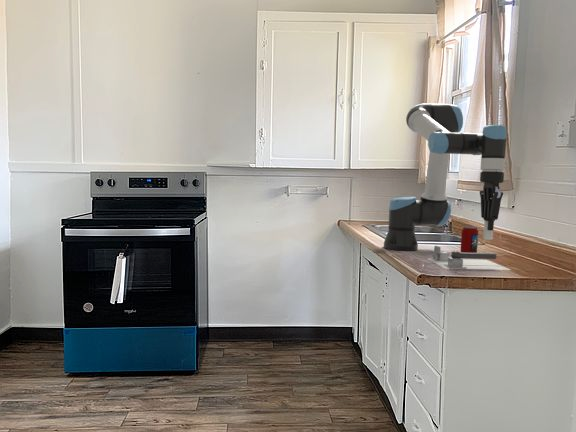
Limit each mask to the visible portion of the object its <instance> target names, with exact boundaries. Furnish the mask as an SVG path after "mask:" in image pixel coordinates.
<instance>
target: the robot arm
mask: <svg viewBox="0 0 576 432" xmlns="http://www.w3.org/2000/svg"><path fill="white" fill-rule="evenodd" d="M405 121H406V126H407V127H408V129H410V131H412V132H413V133H417V134H418V135H420V136H422V137H423V138H424V139H425V140H426V141H427V146H428V150H429V155H428V163H427V171H426V172H427V173H426V176H425V177H426V179H425V186H424V192H423V193H422V194H421V195H420V199H417V197H416V196H401V197H400V196H399V197H394V198H392V199H390V202H389V206H388V207H389V208H388V211H389V212H388V231H387V234H386V235H385V238H384V242H383V248H384V249H388V250H393V251H403V252H405V251H407V252H408V251H417V250H418V249H419V248H418V246H419V245H418V243H419V242H418V240H417V237H416V233H415V231H416V230H415V228H416V226H417V227H419V226H420V227H421V226H422V227H424V226H425V227H426V226H427V227H440V226H441V227H443V226H445V225H446V224H447V223H448V222H449V220H450V217H451V215H452V214H451V213H452V205H451V203H450V201H449V200H448V196H446V193H445V192H446V185H447V177H448V169H449V161H450V156H451V154H453V155H471V156H472V155H473V156H481V157H480V170H481V172H480V176H479V182H480V183H483V187H482V190H479V197H480V216H481V217H480V218H481V219H483V221H484V223H483V225H484V226H483V238H482V239H483V240H485V241H486V240H487V241H493V240H494V227H495V226H494V225H495V221H498V219H499V213H500V208H501V202H502V200H503V199H502V198H503V195H504V192H503V191H500V184H502V183H504V179H505V178H504V177H505V173H504V170H505V165H506V161H505V160H506V150H507V149H506V148H507V138H508V136H507V127H506V125H502V124H489V125H484V127H483V129H482V133H473V132H472V133H471V132H461V131H462V128H463V124H464V116H463V112H462V110H461V108H460V106H458V105H457V104H451V103H450V104H449V103H425V102H424V103H420V104H417V105H414V106H413V107H412V108H411V109H409V111H408V112H407V115H406V118H405Z"/></svg>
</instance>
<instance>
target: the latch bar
mask: <svg viewBox="0 0 576 432" xmlns="http://www.w3.org/2000/svg"><path fill="white" fill-rule="evenodd" d="M450 254H451V255H450V258H461V259H475V260H497V253H493V252H477V253H464V252H460V251H459V250H453V251H451V253H450Z"/></svg>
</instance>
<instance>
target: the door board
mask: <svg viewBox="0 0 576 432" xmlns="http://www.w3.org/2000/svg"><path fill="white" fill-rule="evenodd" d="M462 259H463V266H465V267H467V268H466V269H465V268H449V267H447V266H445V265H444V264H448V261H436V260H434V259H433V258H428V260H429V261H431V262H433V263H434V264H435V265H438V266H440V267H441V268H443V269H445V270H480V271H481V270H484V271H486V270H488V271H489V270H492V271H499V270H500V271H511V269H510V268H507V267H505V266H503V265H500V264H498V263H495V262H494V261H490V259H468V258H462Z"/></svg>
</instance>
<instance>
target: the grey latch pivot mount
mask: <svg viewBox="0 0 576 432" xmlns="http://www.w3.org/2000/svg"><path fill="white" fill-rule="evenodd" d="M463 259H464V258H451V256H449V257H448V264H444V265H445V266H447V267H449V268H465V269H464V270H467V269H466V268H467V267H465V266H463Z"/></svg>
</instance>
